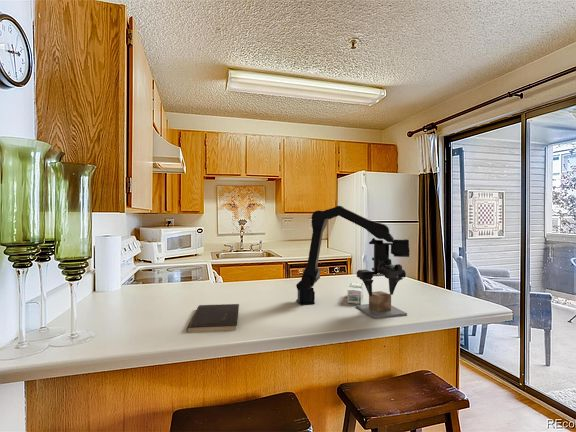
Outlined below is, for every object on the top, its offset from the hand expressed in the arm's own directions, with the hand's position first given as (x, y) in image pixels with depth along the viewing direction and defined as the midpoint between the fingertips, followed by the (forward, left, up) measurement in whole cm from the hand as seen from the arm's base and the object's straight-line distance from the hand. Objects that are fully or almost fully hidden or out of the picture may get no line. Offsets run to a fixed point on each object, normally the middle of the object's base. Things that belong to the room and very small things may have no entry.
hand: (380, 295), depth 120 cm
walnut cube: (0, 0, -5) cm, 5 cm away
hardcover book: (-63, +7, -7) cm, 64 cm away
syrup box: (+2, +23, -3) cm, 23 cm away
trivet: (0, 0, -6) cm, 6 cm away
